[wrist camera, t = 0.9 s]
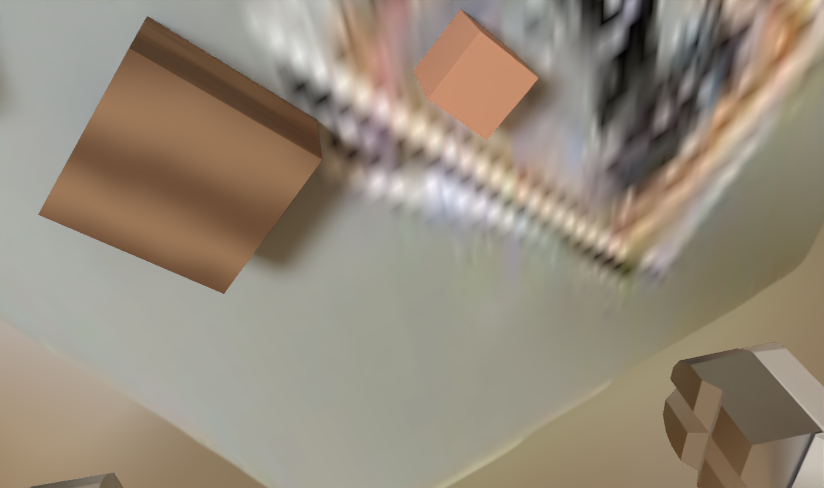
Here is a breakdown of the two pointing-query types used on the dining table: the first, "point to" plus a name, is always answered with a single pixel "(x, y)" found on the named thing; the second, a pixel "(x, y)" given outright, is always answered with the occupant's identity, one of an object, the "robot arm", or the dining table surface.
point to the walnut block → (184, 161)
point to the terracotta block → (473, 75)
